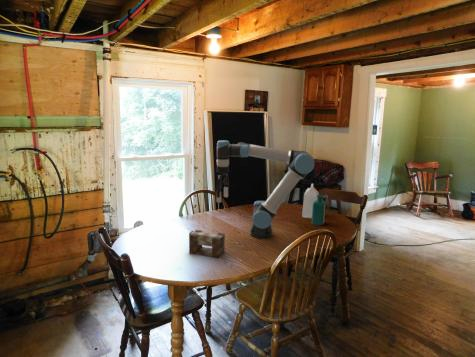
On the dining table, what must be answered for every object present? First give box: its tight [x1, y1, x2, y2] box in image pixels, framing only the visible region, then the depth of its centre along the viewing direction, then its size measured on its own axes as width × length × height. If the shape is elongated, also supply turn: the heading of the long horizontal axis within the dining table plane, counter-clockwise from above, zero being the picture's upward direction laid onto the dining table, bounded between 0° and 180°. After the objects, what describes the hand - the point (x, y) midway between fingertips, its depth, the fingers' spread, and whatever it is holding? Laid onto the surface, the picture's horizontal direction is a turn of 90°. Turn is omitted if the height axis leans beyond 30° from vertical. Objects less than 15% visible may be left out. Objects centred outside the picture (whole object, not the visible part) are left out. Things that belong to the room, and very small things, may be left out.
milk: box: [301, 183, 320, 219], centre depth 266 cm, size 12×12×26 cm
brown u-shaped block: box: [188, 229, 226, 259], centre depth 192 cm, size 18×10×11 cm, turn 73°
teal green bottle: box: [311, 194, 329, 226], centre depth 247 cm, size 10×8×22 cm
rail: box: [188, 230, 226, 248], centre depth 191 cm, size 20×4×6 cm, turn 73°
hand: (222, 199), depth 208 cm, fingers open, 13 cm apart
